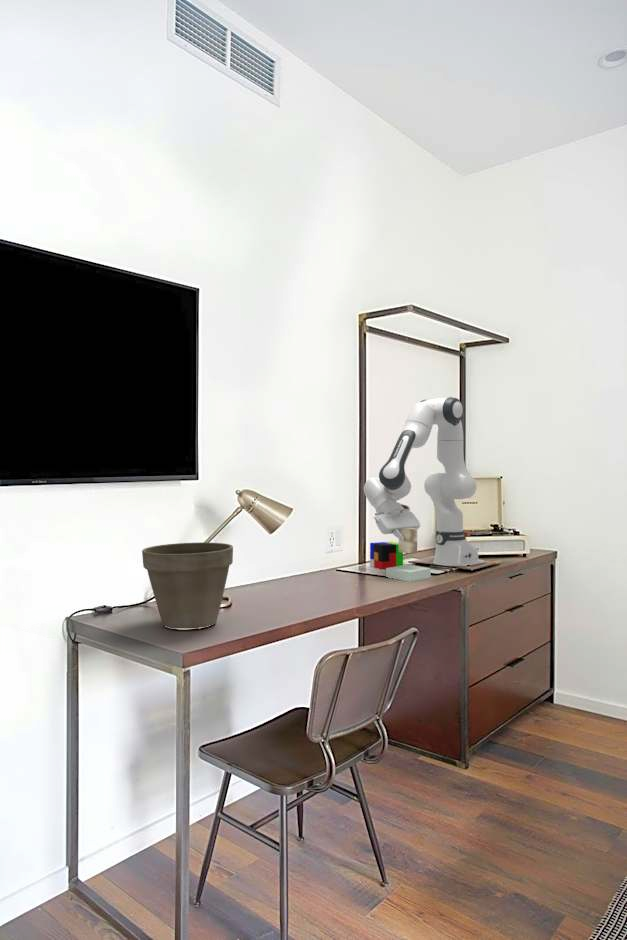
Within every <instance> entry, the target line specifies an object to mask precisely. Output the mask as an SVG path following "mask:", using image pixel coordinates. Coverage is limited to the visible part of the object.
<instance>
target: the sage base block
mask: <svg viewBox="0 0 627 940" xmlns="http://www.w3.org/2000/svg"><path fill="white" fill-rule="evenodd" d="M431 572H432V570H431V568H430V567H424V566H417V565H410V564H403V565H402V566H396V567H390V568H386V570H385V577H388V578H387V579H392V578H393V579H392V580H397V579H399V580H398V581H402V582H403V581H404V582H410V583H411V582H416V581H422V580H426V579H431V578H432V577H431V576H432V575H431Z"/></svg>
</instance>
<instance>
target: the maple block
mask: <svg viewBox="0 0 627 940" xmlns="http://www.w3.org/2000/svg"><path fill="white" fill-rule="evenodd" d="M399 533H401V534H402V535H404V536H405V538H406V539H405V540H404V541H400V540H399V539H398V543H399V552H402V553H403V554H413V553H418V530H417V529H415V528H402V529H399Z"/></svg>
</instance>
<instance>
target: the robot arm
mask: <svg viewBox="0 0 627 940" xmlns="http://www.w3.org/2000/svg"><path fill="white" fill-rule="evenodd" d="M463 415H464V406H463V403H462V402H461V400H460V399H459V398H457V397H452V396H449V397H436V398H430V399H423V400H421V401H419V402H416V403H415V404H414V405H413V406H412V408H411V410H410V411H409V413H408V415H407V417H406V420H405V422H404V425H403V428H402V430H401V433H400V434H399V436H398V439H397V441H396V442H395V444H394V445H395V446H394V447H393V450H392V452H391V453H390V456H389V458H388V460H387V461H386V463H384V465H382V466H381V468H380V470H379V473H378V476H372V477H370V478H369V479H368V480H367V481H366V482H365V483H364V485H363V492H364V495H365V497H366V499H367V501H368V502H369V503H370V505H371V506H372V507H373V508H374V510H375V513H374V515H373V518H374V520H375V524H376V526H377V527H378V530H379V532H380V533H381V534H383V535H391V534H393V536H394V537H396V538H398V541H399V540H400V541H404V540H405V539H406V538H405V536H404V535H402V534H401V533H399V529H402V528H415V529H417V531H418V530H419V529H420V527H421V522H420V521H419V519H418V518H417V517H416V515H415V514H414V513H413V512H412V511H410V510H411V507H410V506H409V505H407V504H402V503H400V502H399V501H400V500H402V499H403V498H405V497H406V496H408V495H409V494H410V492H411V490H412V484H411V481H410V479H409V477H408V476H407V474H406V470H405V465H406V462H407V460H408V458H409V456H410V453H411V450H412V449H420V448H422V447H423V446H425V445H426V443H427V442H428V441H429V438H430V435H431V432H432V430H433V425H437V427H438V428H437V434H436V435H437V438H436V439H437V442H436V445H437V446H436V458H437V461H438V462H439V463H440V464H441V465H442V466H443V469H444V471H445V472H436V473H433V474H430V475H428V476H427V477H426V478H425V480H424V486H423V488H424V491H425V493H426V494H427V495H428V496H429V497H430V499H431V501H432V503H433V505H434V509H435V514H436V530H435V540H436V543H435V551H434V556H433V557H434V558H433V562H432V564H434V565H438V566H443V567H444V566H445V567H468V566H467V565H470V566H475V565H479V564H484V562H485V561H484V560H483V559H480V558H479V553H478V549H477V548H476V547H475V546H474V545H473V544H472V543H471V542H469V540H467V537H470V536H471V532H470V531H464V515H463V511H462V510H461V509H460V508H458V506H457V504H456V501H455V500H464V499H465V500H466V499H470V498H472V497H473V496H474V495H475V494H476V491H477V482H476V480H475V479H476V478H474V477H473V476H472V475H471V474H470V473H469V470H468V469H467V466H466V462H465V458H464V457H465V456H464V455H465V454H464V430H463V429H464V428H463V422H462V418H463ZM397 501H398V502H397Z"/></svg>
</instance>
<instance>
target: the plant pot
mask: <svg viewBox="0 0 627 940" xmlns="http://www.w3.org/2000/svg"><path fill="white" fill-rule="evenodd" d="M141 554H142V555H141V556H142V564H143V565H142V566H143V568H144V569H145V570H146V571H147V574H148V575H147V576H148V579H149V582H150V586H151V589H152V593H153V596H154V600H155V603H156V607H157V610H158V615H159V618H160V620H161V621H160V622H161V623H162V626H163V625H164V626H167V627H170V628H199V627H206V626H209V625H212V624H215V625H216V623H217V622H218V618H219V614H220V610H221V605H222V601H223V597H224V593H225V588H226V584H227V579H228V574H229V569H230V566H231V565H232V564H233V562H234V561H233V560H234V547H233V545H231V544H229V543H223V542H179V543H167V544H160V545H154V546H149V547H145V548H143V549H142V550H141ZM164 626H163V627H164Z"/></svg>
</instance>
